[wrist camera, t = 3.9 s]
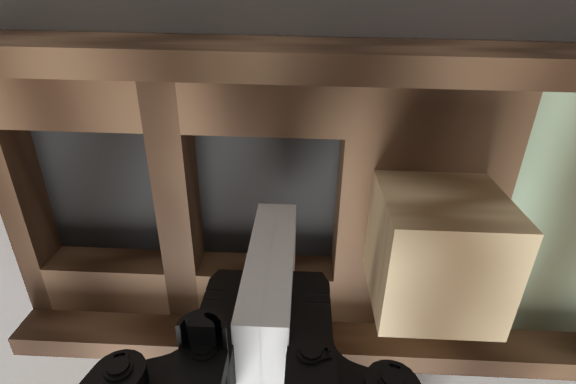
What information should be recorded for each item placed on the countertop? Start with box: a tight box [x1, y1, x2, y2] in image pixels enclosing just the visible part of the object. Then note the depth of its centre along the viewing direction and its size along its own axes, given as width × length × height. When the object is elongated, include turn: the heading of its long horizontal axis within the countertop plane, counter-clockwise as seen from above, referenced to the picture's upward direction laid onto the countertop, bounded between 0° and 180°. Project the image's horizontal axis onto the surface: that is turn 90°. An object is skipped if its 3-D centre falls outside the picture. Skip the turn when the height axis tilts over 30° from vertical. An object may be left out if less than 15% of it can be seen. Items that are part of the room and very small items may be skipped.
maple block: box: [363, 170, 544, 342], centre depth 16 cm, size 4×4×4 cm
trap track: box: [0, 30, 576, 381], centre depth 17 cm, size 30×14×6 cm, turn 89°
